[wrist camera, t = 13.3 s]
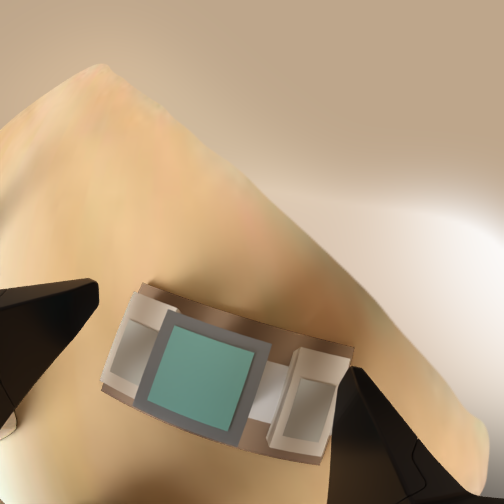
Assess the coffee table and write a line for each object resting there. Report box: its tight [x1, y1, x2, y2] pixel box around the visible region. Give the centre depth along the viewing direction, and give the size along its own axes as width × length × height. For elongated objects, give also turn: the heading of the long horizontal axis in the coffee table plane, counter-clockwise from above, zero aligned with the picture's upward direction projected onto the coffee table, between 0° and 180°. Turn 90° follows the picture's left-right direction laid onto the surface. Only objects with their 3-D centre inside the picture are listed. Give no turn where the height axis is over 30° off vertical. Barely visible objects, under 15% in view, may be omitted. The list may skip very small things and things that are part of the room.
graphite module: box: [132, 309, 272, 447], centre depth 14 cm, size 4×4×11 cm
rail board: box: [100, 283, 354, 465], centre depth 18 cm, size 18×10×4 cm, turn 73°
